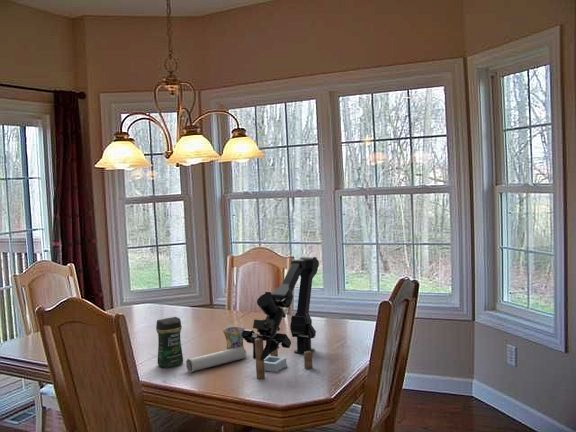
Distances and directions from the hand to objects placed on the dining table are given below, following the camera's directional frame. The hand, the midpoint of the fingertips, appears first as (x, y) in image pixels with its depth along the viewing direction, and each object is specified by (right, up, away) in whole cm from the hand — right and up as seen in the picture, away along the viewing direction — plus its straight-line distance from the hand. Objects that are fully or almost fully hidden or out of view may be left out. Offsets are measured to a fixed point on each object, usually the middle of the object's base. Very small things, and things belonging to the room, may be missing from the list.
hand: (257, 359), depth 198 cm
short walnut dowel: (+19, -6, +10) cm, 22 cm away
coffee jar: (-35, -8, +21) cm, 42 cm away
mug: (-11, -6, +30) cm, 33 cm away
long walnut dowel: (+1, -7, +2) cm, 7 cm away
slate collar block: (+5, -6, +12) cm, 14 cm away
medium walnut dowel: (+5, -6, +21) cm, 22 cm away
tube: (-16, -7, +18) cm, 25 cm away
